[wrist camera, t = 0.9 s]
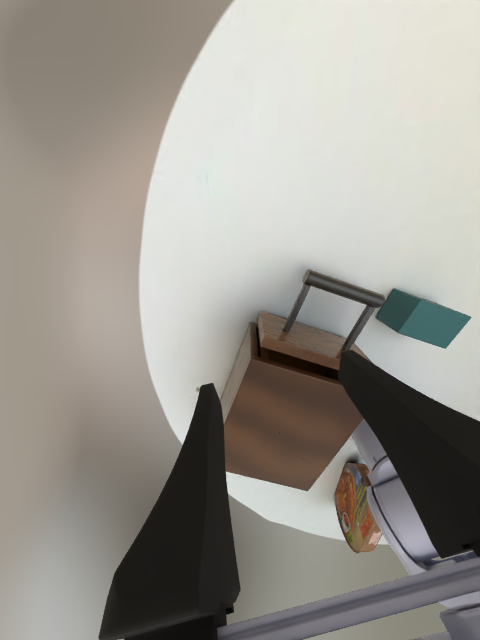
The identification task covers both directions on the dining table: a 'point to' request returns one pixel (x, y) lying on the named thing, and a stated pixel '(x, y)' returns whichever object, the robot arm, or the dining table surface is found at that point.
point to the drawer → (313, 330)
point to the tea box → (421, 318)
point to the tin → (356, 509)
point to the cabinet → (282, 419)
